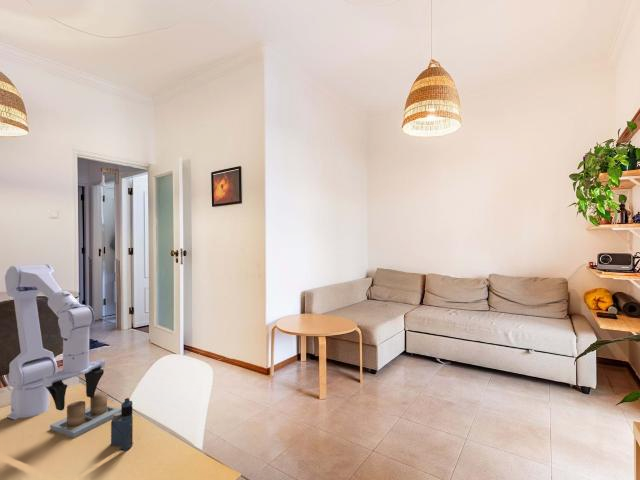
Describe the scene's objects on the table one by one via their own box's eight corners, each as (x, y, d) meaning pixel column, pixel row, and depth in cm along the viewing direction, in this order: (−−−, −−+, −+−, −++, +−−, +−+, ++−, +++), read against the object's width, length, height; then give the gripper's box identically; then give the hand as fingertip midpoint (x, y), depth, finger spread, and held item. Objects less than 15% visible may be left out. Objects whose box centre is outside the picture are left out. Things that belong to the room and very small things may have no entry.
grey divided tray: (50, 433, 88) (50, 424, 88) (98, 410, 100) (99, 403, 100) (74, 441, 84) (74, 432, 84) (121, 417, 96) (121, 409, 96)
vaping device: (127, 451, 80) (127, 402, 80) (108, 449, 81) (108, 400, 81) (135, 445, 83) (135, 397, 83) (117, 443, 84) (117, 395, 84)
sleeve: (62, 429, 88) (62, 406, 88) (79, 421, 92) (79, 399, 92) (72, 432, 87) (72, 409, 87) (89, 424, 90) (89, 402, 91)
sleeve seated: (86, 417, 94) (86, 396, 94) (101, 410, 98) (101, 390, 98) (96, 421, 92) (96, 399, 92) (111, 413, 96) (111, 392, 96)
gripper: (55, 363, 81) (54, 418, 81) (112, 346, 95) (111, 394, 95) (38, 359, 84) (37, 413, 84) (95, 343, 97) (95, 389, 97)
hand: (75, 402), depth 89 cm, fingers open, 7 cm apart
